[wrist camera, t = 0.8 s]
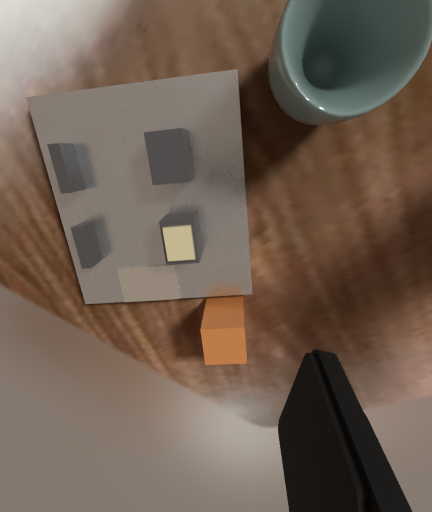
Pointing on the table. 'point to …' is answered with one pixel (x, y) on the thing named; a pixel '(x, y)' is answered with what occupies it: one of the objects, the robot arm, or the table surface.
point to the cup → (345, 55)
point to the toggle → (169, 156)
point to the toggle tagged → (181, 238)
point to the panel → (147, 185)
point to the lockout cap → (224, 331)
